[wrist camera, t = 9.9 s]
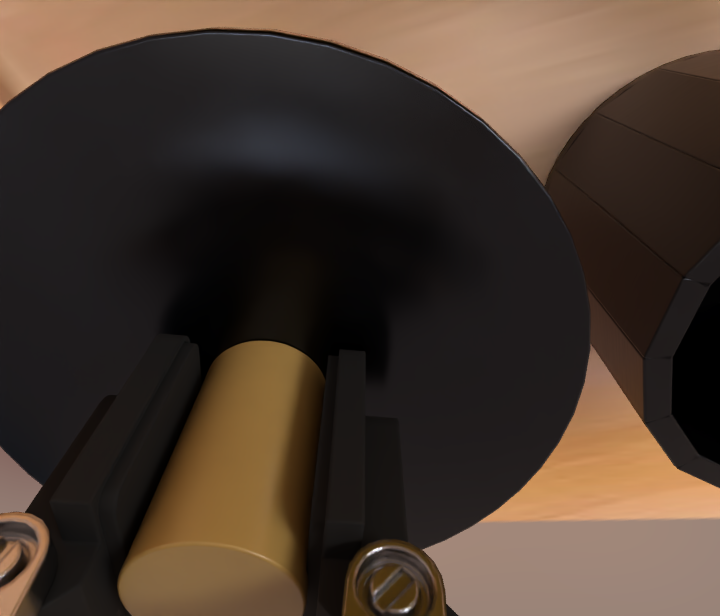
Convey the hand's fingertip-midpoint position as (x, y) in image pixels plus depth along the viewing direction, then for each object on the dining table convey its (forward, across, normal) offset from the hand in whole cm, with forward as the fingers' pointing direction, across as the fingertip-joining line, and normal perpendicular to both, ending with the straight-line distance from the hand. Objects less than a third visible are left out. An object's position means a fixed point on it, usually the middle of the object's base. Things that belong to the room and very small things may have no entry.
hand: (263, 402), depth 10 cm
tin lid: (+1, 0, 0) cm, 1 cm away
